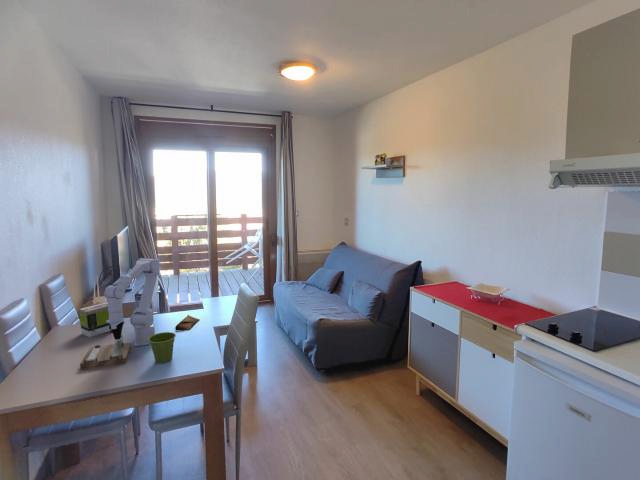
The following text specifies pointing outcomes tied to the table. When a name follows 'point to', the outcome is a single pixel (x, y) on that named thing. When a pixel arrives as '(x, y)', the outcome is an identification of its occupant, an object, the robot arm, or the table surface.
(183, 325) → the sunglasses case
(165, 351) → the plant pot
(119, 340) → the bar
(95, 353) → the latch
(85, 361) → the wooden wall rack
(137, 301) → the gum box
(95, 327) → the tea box
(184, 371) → the table surface
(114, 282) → the robot arm
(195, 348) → the table surface
